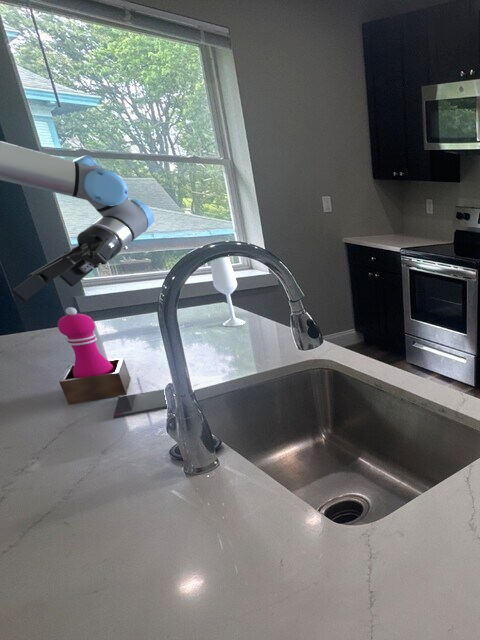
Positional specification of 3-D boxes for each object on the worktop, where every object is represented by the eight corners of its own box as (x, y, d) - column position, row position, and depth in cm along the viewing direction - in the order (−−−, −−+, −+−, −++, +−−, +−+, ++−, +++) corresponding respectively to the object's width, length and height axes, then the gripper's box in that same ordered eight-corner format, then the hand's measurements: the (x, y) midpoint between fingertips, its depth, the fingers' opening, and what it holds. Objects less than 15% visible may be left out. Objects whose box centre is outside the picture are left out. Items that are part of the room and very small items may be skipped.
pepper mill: (118, 381, 113) (89, 301, 105) (123, 391, 109) (93, 308, 100) (79, 389, 109) (45, 306, 100) (82, 400, 104) (48, 314, 96)
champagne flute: (230, 327, 151) (212, 252, 141) (218, 323, 154) (200, 249, 144) (250, 322, 157) (234, 249, 146) (238, 319, 160) (222, 246, 149)
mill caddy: (68, 404, 102) (58, 381, 100) (76, 386, 110) (68, 365, 108) (126, 394, 107) (118, 373, 105) (130, 378, 115) (123, 357, 113)
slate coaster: (114, 418, 98) (113, 415, 98) (119, 399, 105) (118, 396, 105) (171, 407, 103) (170, 405, 102) (172, 390, 110) (172, 387, 110)
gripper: (157, 240, 114) (102, 289, 99) (79, 265, 119) (16, 315, 104) (132, 211, 109) (70, 258, 94) (51, 238, 114) (-19, 287, 99)
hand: (41, 288), depth 99 cm, fingers open, 13 cm apart
